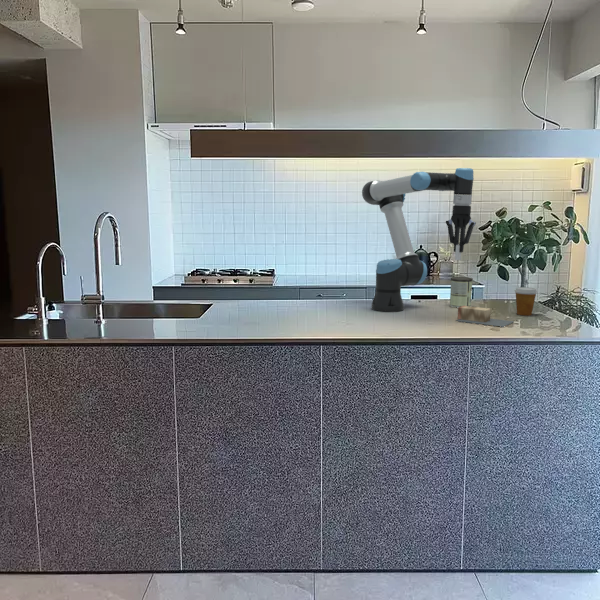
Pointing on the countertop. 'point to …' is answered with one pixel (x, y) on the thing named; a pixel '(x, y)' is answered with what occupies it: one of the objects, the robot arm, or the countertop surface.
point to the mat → (489, 322)
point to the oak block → (474, 313)
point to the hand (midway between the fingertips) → (457, 259)
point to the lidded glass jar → (461, 291)
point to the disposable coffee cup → (525, 300)
